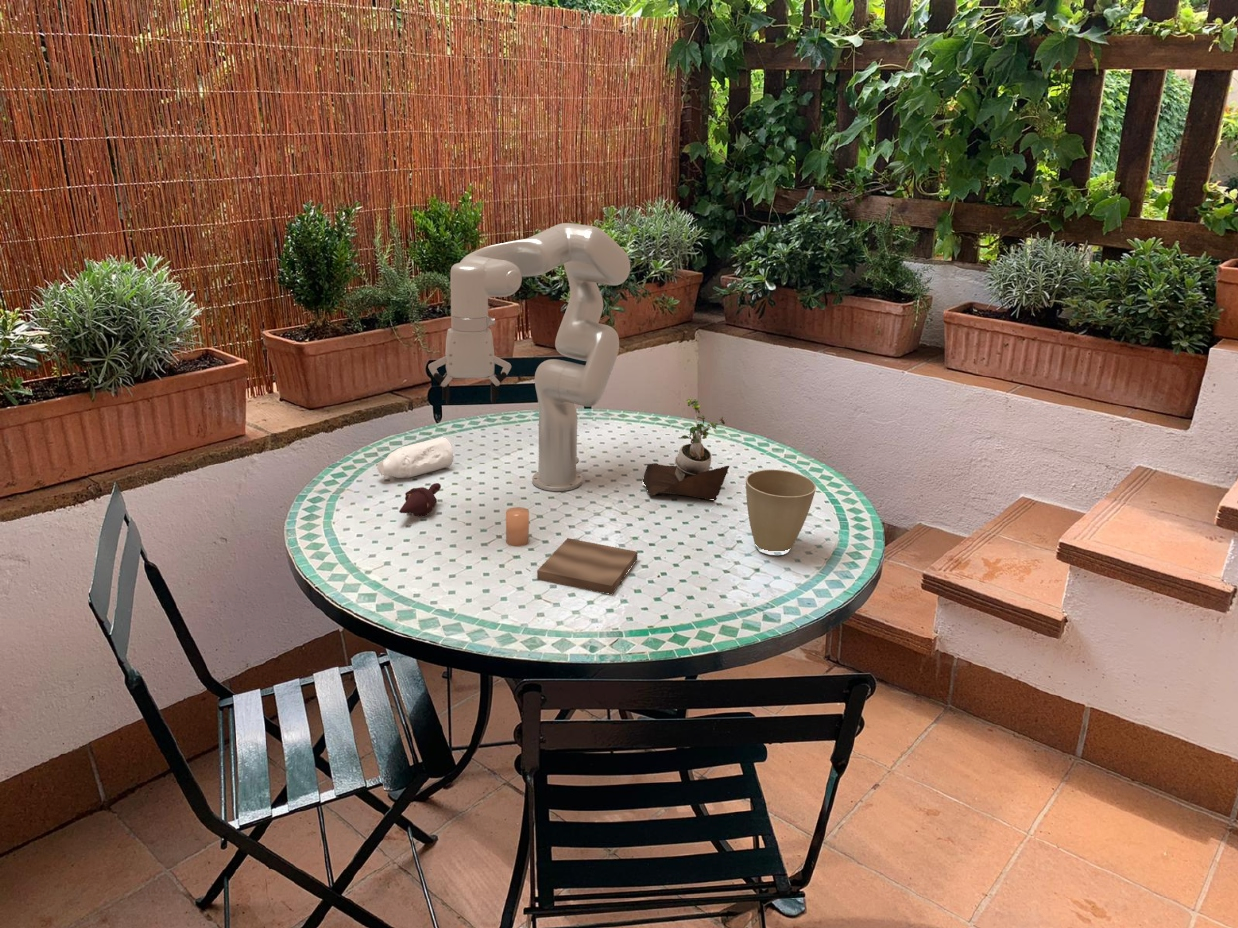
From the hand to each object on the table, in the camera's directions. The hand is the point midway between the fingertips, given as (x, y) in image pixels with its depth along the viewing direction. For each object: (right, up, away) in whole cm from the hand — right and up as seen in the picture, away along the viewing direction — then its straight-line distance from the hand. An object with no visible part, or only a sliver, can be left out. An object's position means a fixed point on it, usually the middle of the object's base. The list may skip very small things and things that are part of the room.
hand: (470, 402), depth 198 cm
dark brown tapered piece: (-14, -25, +15) cm, 32 cm away
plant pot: (+66, -32, +5) cm, 73 cm away
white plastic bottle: (-19, -16, +37) cm, 45 cm away
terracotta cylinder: (+10, -30, +4) cm, 32 cm away
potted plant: (+48, -20, +36) cm, 63 cm away
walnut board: (+25, -35, -7) cm, 44 cm away
